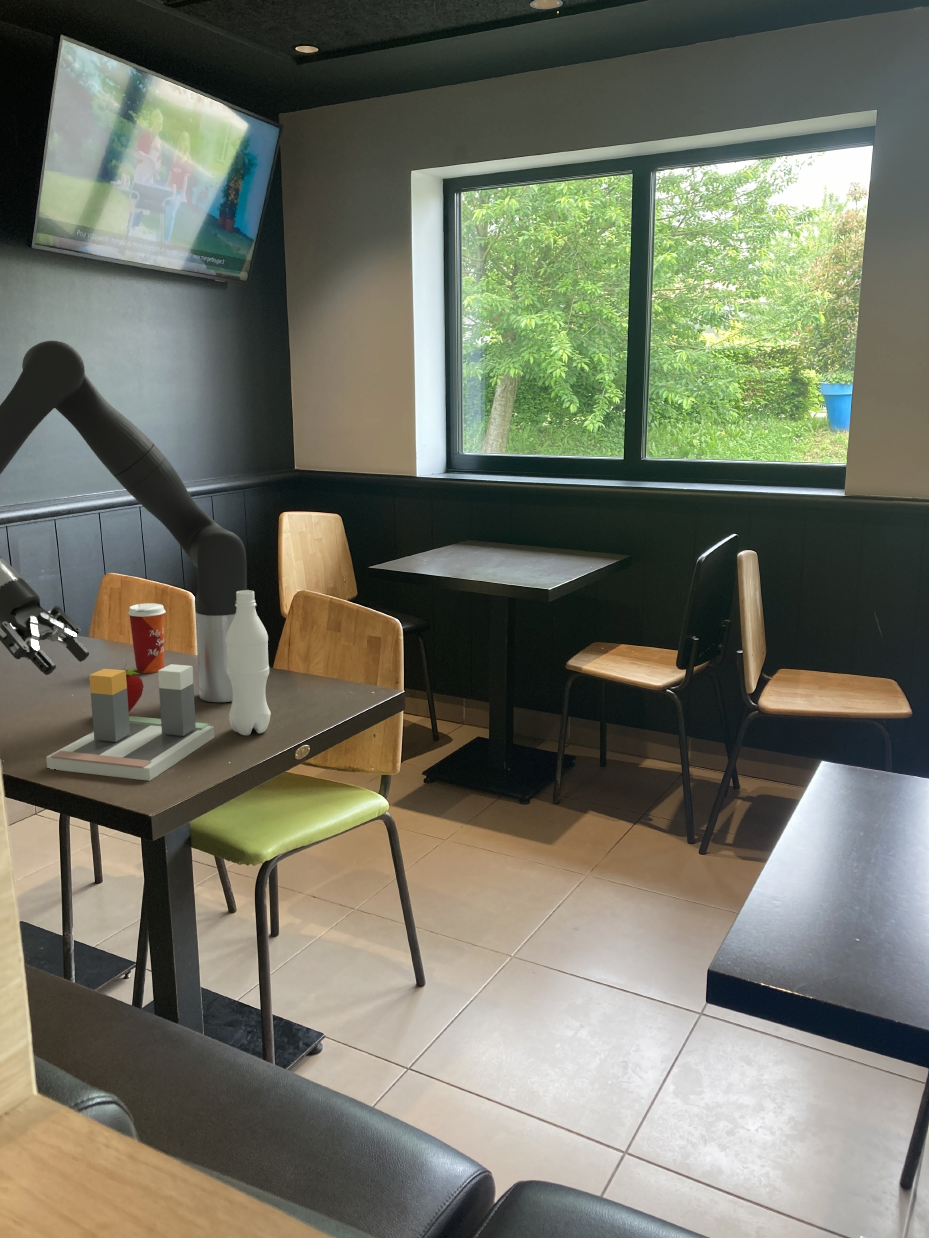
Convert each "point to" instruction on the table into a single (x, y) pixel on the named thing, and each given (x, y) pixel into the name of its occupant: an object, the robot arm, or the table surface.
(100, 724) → the orange-topped grey pillar
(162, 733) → the grey base plate
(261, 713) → the water bottle
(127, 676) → the strawberry
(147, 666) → the paper cup
